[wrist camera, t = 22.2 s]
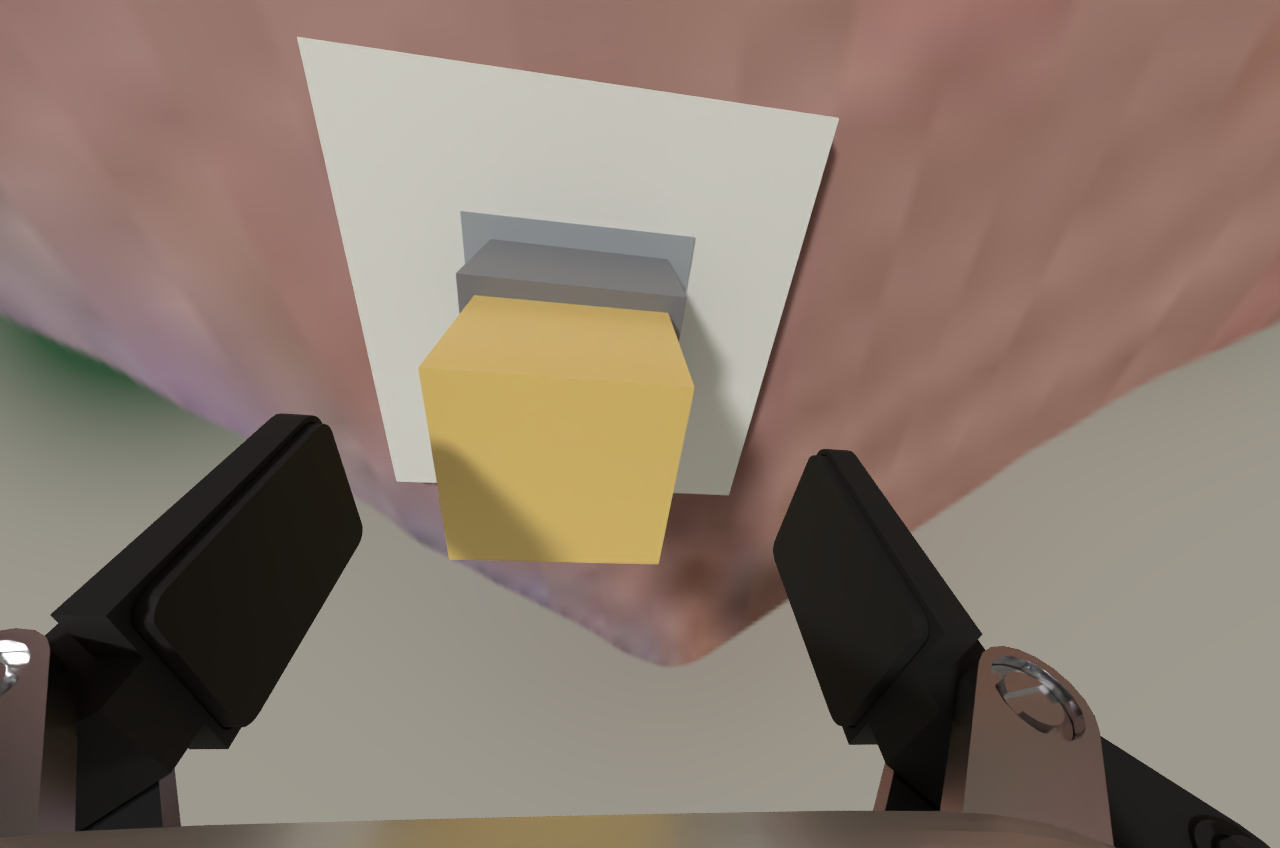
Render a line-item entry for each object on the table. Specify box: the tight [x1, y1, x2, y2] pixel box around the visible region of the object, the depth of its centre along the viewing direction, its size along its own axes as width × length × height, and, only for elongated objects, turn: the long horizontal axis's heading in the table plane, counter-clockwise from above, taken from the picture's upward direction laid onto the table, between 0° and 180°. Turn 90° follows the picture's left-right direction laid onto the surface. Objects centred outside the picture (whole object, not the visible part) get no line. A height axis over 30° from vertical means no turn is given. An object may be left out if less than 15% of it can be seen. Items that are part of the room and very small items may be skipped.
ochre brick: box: [418, 295, 695, 564], centre depth 14 cm, size 6×6×5 cm
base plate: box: [297, 37, 839, 495], centre depth 20 cm, size 18×18×1 cm
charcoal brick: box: [456, 239, 687, 342], centre depth 18 cm, size 7×7×5 cm
